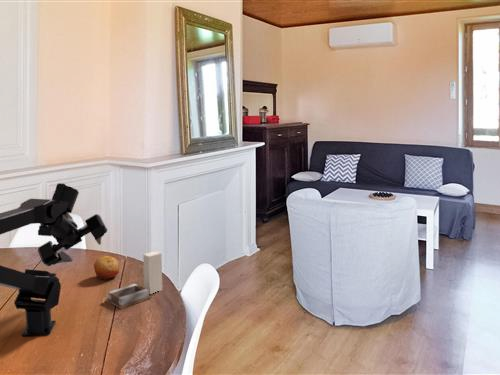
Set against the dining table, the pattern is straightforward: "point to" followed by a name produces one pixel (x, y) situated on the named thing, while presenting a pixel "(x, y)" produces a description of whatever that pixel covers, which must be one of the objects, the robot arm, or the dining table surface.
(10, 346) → the dining table surface
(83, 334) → the dining table surface
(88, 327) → the dining table surface
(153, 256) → the tall cream box
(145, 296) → the track
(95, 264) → the fruit
